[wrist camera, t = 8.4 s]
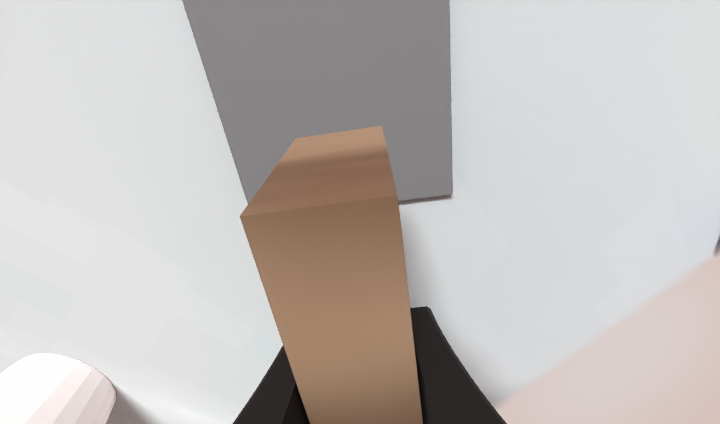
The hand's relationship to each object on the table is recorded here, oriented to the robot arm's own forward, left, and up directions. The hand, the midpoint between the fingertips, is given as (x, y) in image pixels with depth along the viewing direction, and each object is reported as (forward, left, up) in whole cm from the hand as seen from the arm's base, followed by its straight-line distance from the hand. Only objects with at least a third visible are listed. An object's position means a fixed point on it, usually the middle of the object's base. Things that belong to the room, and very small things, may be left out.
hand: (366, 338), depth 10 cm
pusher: (0, +1, -2) cm, 2 cm away
